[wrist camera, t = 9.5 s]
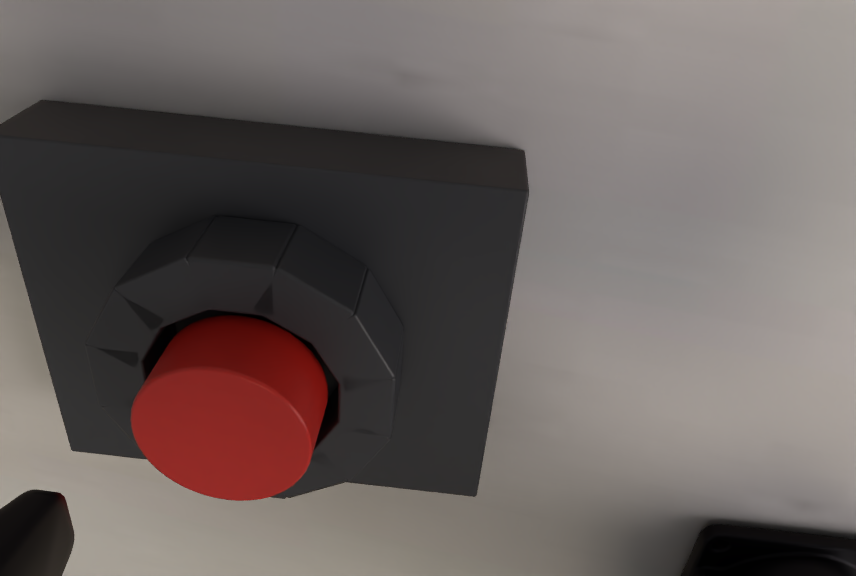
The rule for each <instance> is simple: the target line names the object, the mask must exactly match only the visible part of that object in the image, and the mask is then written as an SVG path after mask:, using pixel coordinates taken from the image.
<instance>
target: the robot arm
mask: <svg viewBox="0 0 856 576" xmlns="http://www.w3.org/2000/svg"><path fill="white" fill-rule="evenodd" d="M73 544H74V530H73V526H72V522H71V518H70V514H69V510H68V507H67V503H66V499H65V497H64V496H63V495H62V494H61V493H58V492H51V491H43V490H29V491H27V492H24V493H23V494H21V495H20V496H18V497H17V498H15V499H14V500H12V501H11V502H10V503H8V504H7V505H5V506H4V507H2V508H1V509H0V576H62V574H63V572H64V569H65V567H66V564H67V562H68V559H69V557H70V554H71V551H72V548H73ZM681 576H856V540H854V539H846V538H837V537H828V536H819V535H810V534H802V533H793V532H784V531H775V530H766V529H758V528H749V527H740V526H731V525H723V524H715V525H711V526H708V527H706V528H704V529H703V530H702V531H701V533H700V535H699V537H698V539H697V541H696V544H695V546H694V548H693V550H692V553H691V555H690V557H689V559H688V561H687V564H686V566H685V568H684V570H683V573H682V575H681Z"/></svg>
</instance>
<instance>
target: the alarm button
mask: <svg viewBox="0 0 856 576" xmlns="http://www.w3.org/2000/svg"><path fill="white" fill-rule="evenodd" d="M327 402H328V384H327V380H326V376H325V374H324V371H323V369H322V366H321V365H320V363H319V361H318V360H317V358H316V357H315V355H314V354H313V353H312V352H311V350H310V349H309V348H308V347H307V346H306V345H305V344H304V343H303V342H301V341H300V340H299V339H298V338H296V337H295V336H294V335H292V334H291V333H289V332H288V331H286V330H284V329H282V328H280V327H278V326H276V325H274V324H272V323H269V322H266V321H264V320H260V319H257V318H253V317H247V316H241V315H219V316H213V317H208V318H204V319H201V320H198V321H196V322H194V323H192V324H190V325H188V326H186V327H185V328H183V329H182V330H180V331H179V332H178V333H177V334H176V335H175V336H174V337H173V339H172V340H171V341H170V343H169V344H168V346H167V347H166V349H165V350H164V352H163V354H162V355H161V357H160V358H159V360H158V362H157V363H156V365H155V366H154V368H153V369H152V371H151V373H150V374H149V376H148V377H147V379H146V381H145V382H144V384H143V385H142V387H141V388H140V390H139V392H138V393H137V395H136V397H135V399H134V401H133V405H132V409H131V428H132V432H133V435H134V438H135V440H136V443H137V445H138V447H139V448H140V450H141V451H142V453H143V454H144V456H145V457H146V458H147V459H148V460H149V462H150V463H151V464H152V465H153V466H154V467H155V468H156V469H158V470H159V471H160V472H161V473H163V474H164V475H165V476H166V477H168V478H170V479H171V480H173V481H174V482H176V483H178V484H180V485H181V486H183V487H185V488H188V489H190V490H192V491H195V492H197V493H200V494H203V495H206V496H210V497H215V498H220V499H226V500H237V501H244V500H257V499H263V498H267V497H271V496H274V495H276V494H279V493H281V492H283V491H285V490H287V489H288V488H290V487H291V486H293V485H294V484H295V483H296V482H297V481H298V480H299V479H300V478H301V477H302V476H303V475H304V473H305V472H306V470H307V468H308V466H309V464H310V461H311V458H312V454H313V451H314V447H315V444H316V440H317V437H318V433H319V430H320V426H321V423H322V419H323V416H324V413H325V409H326V405H327Z"/></svg>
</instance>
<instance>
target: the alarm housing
mask: <svg viewBox="0 0 856 576" xmlns="http://www.w3.org/2000/svg"><path fill="white" fill-rule="evenodd" d="M0 196H1V199H2V203H3V206H4V210H5V213H6V217H7V221H8V224H9V228H10V231H11V235H12V239H13V242H14V246H15V249H16V253H17V257H18V260H19V264H20V267H21V271H22V275H23V278H24V282H25V285H26V289H27V292H28V296H29V300H30V303H31V307H32V310H33V314H34V318H35V321H36V325H37V328H38V332H39V336H40V339H41V343H42V346H43V350H44V354H45V357H46V361H47V364H48V368H49V371H50V375H51V379H52V382H53V386H54V389H55V393H56V397H57V400H58V404H59V407H60V411H61V415H62V418H63V422H64V425H65V429H66V433H67V436H68V440H69V443H70V447H71V450H72V451H78V452H87V453H95V454H104V455H113V456H122V457H131V458H139V459H147V458H146V457H145V456H144V454H143V453H142V451H141V450H140V448H139V447H138V445H137V443H136V440H135V438H134V435H133V432H132V428H131V409H132V405H133V401H134V399H135V397H136V395H137V393H138V392H139V390H140V388H141V387H142V385H143V384H144V382H145V381H146V379H147V377H148V376H149V374H150V373H151V371H152V369H153V368H154V366H155V365H156V363H157V362H158V360H159V358H160V357H161V355H162V354H163V352H164V350H165V349H166V347H167V346H168V344H169V343H170V341H171V340H172V339H173V337H174V336H175V335H176V334H177V333H178V332H179V331H180V330H182V329H183V328H185V327H186V326H188V325H190V324H192V323H194V322H196V321H198V320H201V319H204V318H208V317H213V316H219V315H241V316H247V317H253V318H257V319H260V320H264V321H266V322H269V323H272V324H274V325H276V326H278V327H280V328H282V329H284V330H286V331H288V332H289V333H291V334H292V335H294V336H295V337H296V338H298V339H299V340H300V341H301V342H303V343H304V344H305V345H306V346H307V347H308V348H309V349H310V350H311V352H312V353H313V354H314V355H315V357H316V358H317V360H318V361H319V363H320V365H321V366H322V369H323V371H324V374H325V376H326V380H327V384H328V402H327V405H326V409H325V413H324V416H323V419H322V423H321V426H320V430H319V433H318V437H317V440H316V444H315V447H314V451H313V454H312V458H311V461H310V464H309V466H308V468H307V470H306V472H305V473H304V475H303V476H302V477H301V478H300V479H299V480H298V481H297V482H296V483H295V484H294V485H293V486H291V487H290V488H288V489H287V490H285V491H283V492H281V493H279V494H276V495H274V496H271V497H273V498H282V499H285V498H286V497H288V498H291V497H294V496H298V495H302V494H305V493H309V492H312V491H316V490H319V489H323V488H326V487H330V486H334V485H337V484H341V483H344V482H350V483H359V484H368V485H376V486H385V487H394V488H403V489H412V490H420V491H429V492H438V493H447V494H455V495H464V496H473V497H475V496H476V495H477V490H478V485H479V479H480V473H481V467H482V462H483V456H484V450H485V444H486V438H487V433H488V427H489V421H490V415H491V410H492V404H493V398H494V392H495V387H496V381H497V375H498V369H499V364H500V358H501V352H502V346H503V340H504V335H505V329H506V323H507V317H508V312H509V306H510V300H511V294H512V289H513V283H514V277H515V271H516V265H517V260H518V254H519V248H520V242H521V237H522V231H523V225H524V219H525V214H526V208H527V202H528V196H529V187H528V177H527V168H526V158H525V151H524V150H518V149H508V148H499V147H489V146H480V145H470V144H460V143H451V142H441V141H431V140H422V139H412V138H402V137H393V136H383V135H374V134H364V133H354V132H345V131H335V130H325V129H316V128H306V127H297V126H287V125H277V124H268V123H258V122H248V121H239V120H229V119H219V118H210V117H200V116H191V115H181V114H171V113H162V112H152V111H142V110H133V109H123V108H114V107H104V106H94V105H85V104H75V103H65V102H56V101H46V100H41V101H39V102H37V103H35V104H34V105H32V106H30V107H29V108H27V109H25V110H24V111H22V112H20V113H19V114H17V115H15V116H13V117H12V118H10V119H8V120H7V121H5V122H3V123H2V124H0Z"/></svg>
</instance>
